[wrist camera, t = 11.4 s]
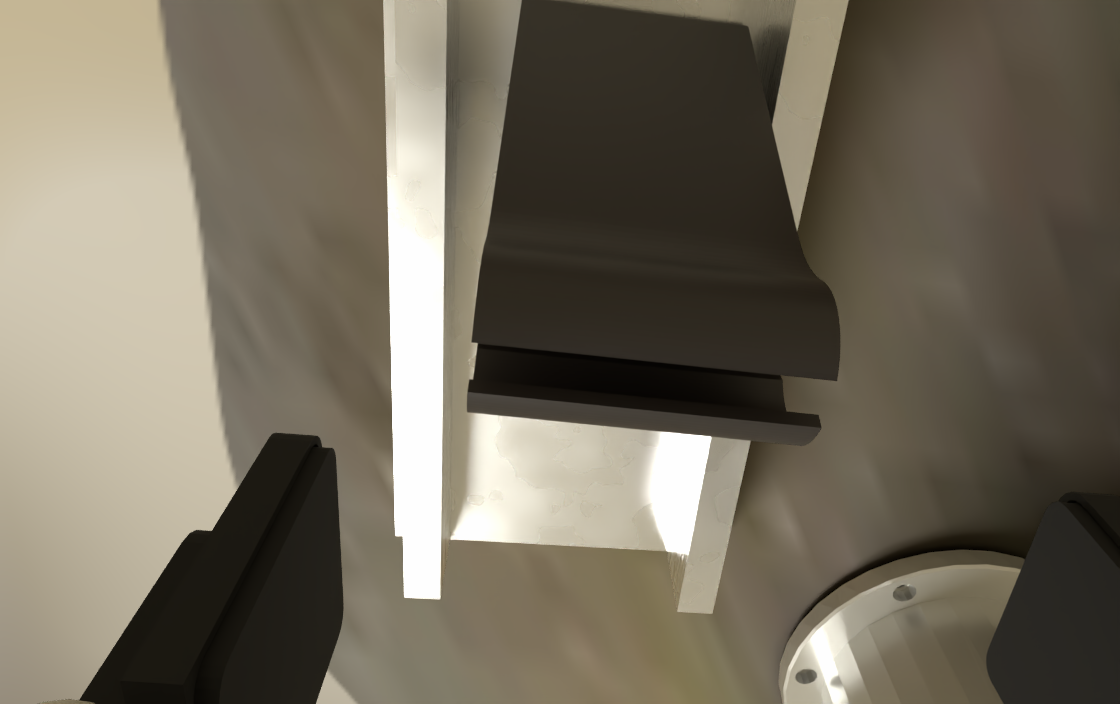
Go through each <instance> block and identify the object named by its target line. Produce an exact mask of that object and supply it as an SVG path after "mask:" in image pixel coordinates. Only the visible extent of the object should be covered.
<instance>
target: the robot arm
mask: <svg viewBox="0 0 1120 704" xmlns="http://www.w3.org/2000/svg"><path fill="white" fill-rule="evenodd" d="M342 619H343V586H342V567H341V547H340V528H339V509H338V490H337V470H336V455H335V451H334V449H333V448H323V447H322V444H321V440H320V438H319V437H318V436H312V435H299V434H285V433H273V434H272V435H271V436H270V437H269V439H268V440H267V442H266V444H265V445H264V447H263V449H262V450H261V452H260V453H259V455H258V457H257V458H256V460H255V462H254V463H253V465H252V467H251V468H250V470H249V471H248V473H247V475H246V476H245V478H244V480H243V481H242V483H241V484H240V486H239V488H238V489H237V491H236V493H235V494H234V496H233V497H232V499H231V501H230V502H229V504H228V506H227V507H226V509H225V511H224V512H223V514H222V515H221V517H220V519H219V520H218V522H217V523H216V525H215V527H214V528H213V530H212V531H202V530H196V531H193V532H191V533H190V534H189V535H188V536H187V537H186V538H185V540H184V541H183V542H182V543H181V545H180V546H179V548H178V549H177V551H176V553H175V554H174V556H173V557H172V559H171V560H170V562H169V563H168V565H167V566H166V568H165V569H164V571H163V572H162V574H161V575H160V577H159V579H158V580H157V582H156V583H155V585H154V586H153V588H152V589H151V591H150V592H149V594H148V595H147V597H146V598H145V600H144V601H143V603H142V605H141V606H140V608H139V609H138V611H137V612H136V614H135V615H134V617H133V618H132V620H131V621H130V623H129V625H128V626H127V628H126V629H125V631H124V632H123V634H122V636H121V637H120V638H119V640H118V641H117V643H116V645H115V646H114V647H113V649H112V651H111V652H110V654H109V655H108V657H107V658H106V660H105V661H104V663H103V665H102V666H101V667H100V669H99V670H98V672H97V674H96V675H95V677H94V678H93V680H92V681H91V683H90V684H89V686H88V687H87V689H86V691H85V692H84V694H83V695H82V697H81V698H80V700H72V699H66V700H57V701H47V702H42V703H39V704H316V701H317V698H318V695H319V693H320V690H321V687H322V683H323V680H324V678H325V675H326V672H327V669H328V666H329V663H330V660H331V657H332V654H333V651H334V648H335V646H336V643H337V640H338V637H339V633H340V630H341V625H342ZM779 688H780V693H781V698H782V702H783V704H1120V497H1119V496H1115V495H1108V494H1095V493H1081V492H1070V493H1066V494H1065V495H1063V496H1062V497H1061V498H1060V500H1059V501H1058V502H1054V503H1051V504H1050V505H1049V506H1048V507H1047V509H1046V511H1045V513H1044V515H1043V518H1042V520H1041V523H1040V525H1039V527H1038V530H1037V532H1036V535H1035V537H1034V539H1033V542H1032V544H1031V547H1030V549H1029V552H1028V554H1027V556H1026V559H1023V558H1021V557H1016V556H1012V555H1007V554H1003V553H998V552H994V551H979V550H951V551H940V552H929V553H925V554H920V555H916V556H912V557H907V558H903V559H899V560H896V561H893V562H890V563H888V564H885V565H882V566H880V567H877V568H875V569H872V570H869V571H867V572H865V573H864V574H862V575H860V576H858V577H856V578H854V579H852V580H851V581H849V582H847V583H845V584H843V585H842V586H840V587H839V588H838V589H836V590H835V591H834V592H832V593H831V594H830V595H828V596H827V597H826V598H824V599H823V600H822V601H820V602H819V603H818V604H817V605H816V606H815V607H814V608H813V609H812V610H811V611H810V612H809V613H808V615H807V616H806V617H805V618H804V619H803V620H802V621H801V622H800V623H799V625H798V627H797V628H796V630H795V631H794V633H793V634H792V636H791V638H790V639H789V641H788V642H787V645H786V648H785V651H784V653H783V656H782V659H781V662H780V671H779Z"/></svg>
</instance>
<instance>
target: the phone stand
mask: <svg viewBox="0 0 1120 704" xmlns="http://www.w3.org/2000/svg"><path fill="white" fill-rule="evenodd" d="M471 343H478V346H477V353H476V361H475V368H474V376H473V380H472V379H469V384H468V391H467V412H468V413H478V414H488V415H498V416H508V417H518V418H528V419H538V420H548V421H558V422H568V423H578V424H588V425H598V426H608V427H618V428H628V429H638V430H648V431H658V432H668V433H678V434H688V435H698V436H708V437H718V438H728V439H738V440H748V441H758V442H768V443H778V444H788V445H798V446H804V445H807V444H808V443H810V442H811V441H812V440H813V439H814V438H815V437H816V436H817V435H818V433H819V432H820V430H821V423H820V419H819V415H814V414H804V413H795V412H786V408H785V403H784V396H783V381H782V378H781V376H780V375H785V376H794V377H804V378H813V379H823V380H832V381H837V377H838V370H839V360H840V325H839V317H838V311H837V306H836V303H835V299H834V297H833V294H832V292H831V290H830V288H829V287H828V286H827V284H826V283H825V282H823V281H822V280H820V279H819V278H818V277H817V276H816V275H815V274H814V273H813V272H812V270H811V269H810V267H809V265H808V264H807V262H806V259H805V257H804V255H803V252H802V249H801V245H800V241H799V237H798V233H797V229H796V225H795V221H794V216H793V212H792V208H791V204H790V200H789V195H788V191H787V187H786V183H785V178H784V174H783V170H782V166H781V162H780V157H779V153H778V149H777V145H776V141H775V136H774V132H773V128H772V124H771V120H770V115H769V111H768V107H767V103H766V99H765V94H764V90H763V86H762V82H761V77H760V73H759V69H758V65H757V61H756V56H755V52H754V48H753V44H752V40H751V35H750V31H749V27H748V26H747V25H739V24H731V23H724V22H716V21H709V20H701V19H693V18H686V17H678V16H671V15H663V14H655V13H648V12H640V11H632V10H625V9H617V8H610V7H602V6H594V5H587V4H579V3H572V2H564V1H556V0H522V2H521V9H520V16H519V22H518V29H517V36H516V43H515V50H514V57H513V64H512V70H511V77H510V84H509V91H508V98H507V105H506V112H505V118H504V125H503V132H502V139H501V146H500V153H499V160H498V167H497V173H496V180H495V187H494V194H493V201H492V208H491V214H490V220H489V226H488V232H487V236H486V240H485V244H484V248H483V253H482V259H481V265H480V272H479V279H478V287H477V295H476V304H475V312H474V321H473V331H472V341H471Z"/></svg>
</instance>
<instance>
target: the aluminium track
mask: <svg viewBox="0 0 1120 704" xmlns="http://www.w3.org/2000/svg"><path fill="white" fill-rule="evenodd" d="M556 1H564V2H572V3H579V4H587V5H594V6H602V7H610V8H617V9H625V10H632V11H640V12H648V13H655V14H663V15H671V16H678V17H686V18H693V19H701V20H709V21H716V22H724V23H731V24H739V25H747V26H748V27H749V31H750V35H751V40H752V44H753V48H754V52H755V56H756V61H757V65H758V69H759V73H760V77H761V82H762V86H763V90H764V94H765V99H766V103H767V107H768V111H769V115H770V120H771V124H772V128H773V132H774V136H775V141H776V145H777V149H778V153H779V157H780V162H781V166H782V170H783V174H784V178H785V183H786V187H787V191H788V195H789V200H790V204H791V208H792V212H793V216H794V221H795V225H796V229H797V230H798V226H799V221H800V217H801V212H802V208H803V203H804V199H805V194H806V190H807V185H808V181H809V176H810V172H811V167H812V163H813V158H814V154H815V149H816V145H817V140H818V136H819V131H820V127H821V122H822V118H823V113H824V109H825V104H826V100H827V95H828V91H829V86H830V82H831V77H832V73H833V68H834V64H835V59H836V55H837V50H838V46H839V41H840V37H841V32H842V28H843V23H844V19H845V14H846V10H847V5H848V1H849V0H556ZM521 2H522V0H383V6H384V51H385V96H386V140H387V185H388V230H389V274H390V319H391V364H392V408H393V453H394V498H395V536H403V552H404V597H406V598H425V599H440V598H441V592H442V586H443V580H444V574H445V568H446V562H447V556H448V549H449V543H450V539H457V540H475V541H493V542H511V543H530V544H548V545H566V546H584V547H602V548H620V549H638V550H656V551H667V555H668V561H669V567H670V573H671V579H672V585H673V590H674V596H675V602H676V608H677V612H691V613H711V614H712V612H713V608H714V603H715V599H716V594H717V590H718V585H719V581H720V576H721V572H722V567H723V563H724V558H725V554H726V549H727V545H728V540H729V536H730V531H731V527H732V522H733V518H734V513H735V509H736V504H737V500H738V496H739V491H740V487H741V482H742V478H743V473H744V469H745V464H746V460H747V455H748V451H749V446H750V442H751V441H748V440H738V439H728V438H718V437H708V436H698V435H688V434H678V433H668V432H658V431H648V430H638V429H628V428H618V427H608V426H598V425H588V424H578V423H568V422H558V421H548V420H538V419H528V418H518V417H508V416H498V415H488V414H478V413H468V412H467V391H468V384H469V379H472V380H473V376H474V368H475V361H476V353H477V346H478V343H471V341H472V331H473V321H474V312H475V304H476V295H477V287H478V279H479V272H480V265H481V259H482V253H483V248H484V244H485V240H486V236H487V232H488V226H489V220H490V214H491V208H492V201H493V194H494V187H495V180H496V173H497V167H498V160H499V153H500V146H501V139H502V132H503V125H504V118H505V112H506V105H507V98H508V91H509V84H510V77H511V70H512V64H513V57H514V50H515V43H516V36H517V29H518V22H519V16H520V9H521Z"/></svg>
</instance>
